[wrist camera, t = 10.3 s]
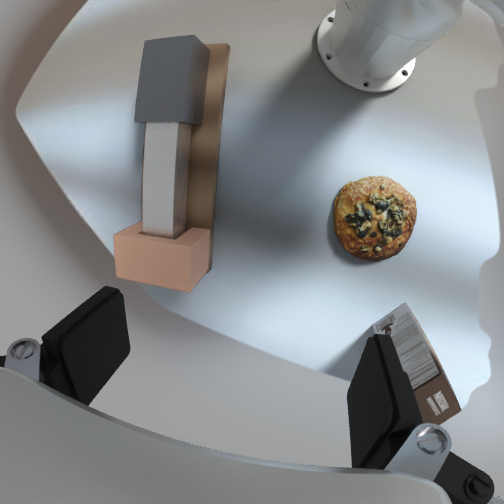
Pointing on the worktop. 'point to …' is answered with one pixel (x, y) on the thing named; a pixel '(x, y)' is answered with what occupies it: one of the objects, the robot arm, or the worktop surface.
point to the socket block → (162, 257)
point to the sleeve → (172, 80)
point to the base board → (206, 148)
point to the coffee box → (420, 365)
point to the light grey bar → (165, 178)
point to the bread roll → (374, 217)
